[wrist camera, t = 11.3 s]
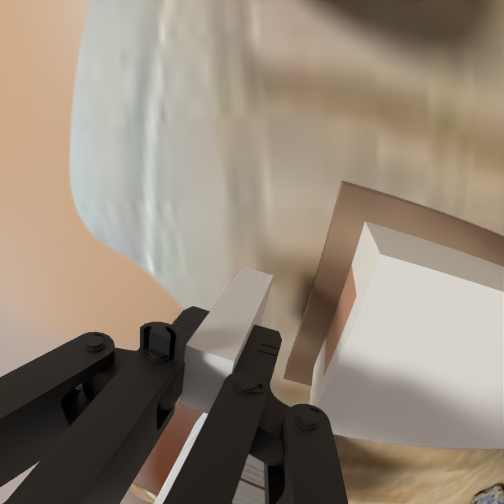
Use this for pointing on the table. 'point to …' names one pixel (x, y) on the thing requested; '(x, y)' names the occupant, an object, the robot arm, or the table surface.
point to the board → (344, 247)
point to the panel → (415, 346)
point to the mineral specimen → (490, 496)
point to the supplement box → (251, 482)
